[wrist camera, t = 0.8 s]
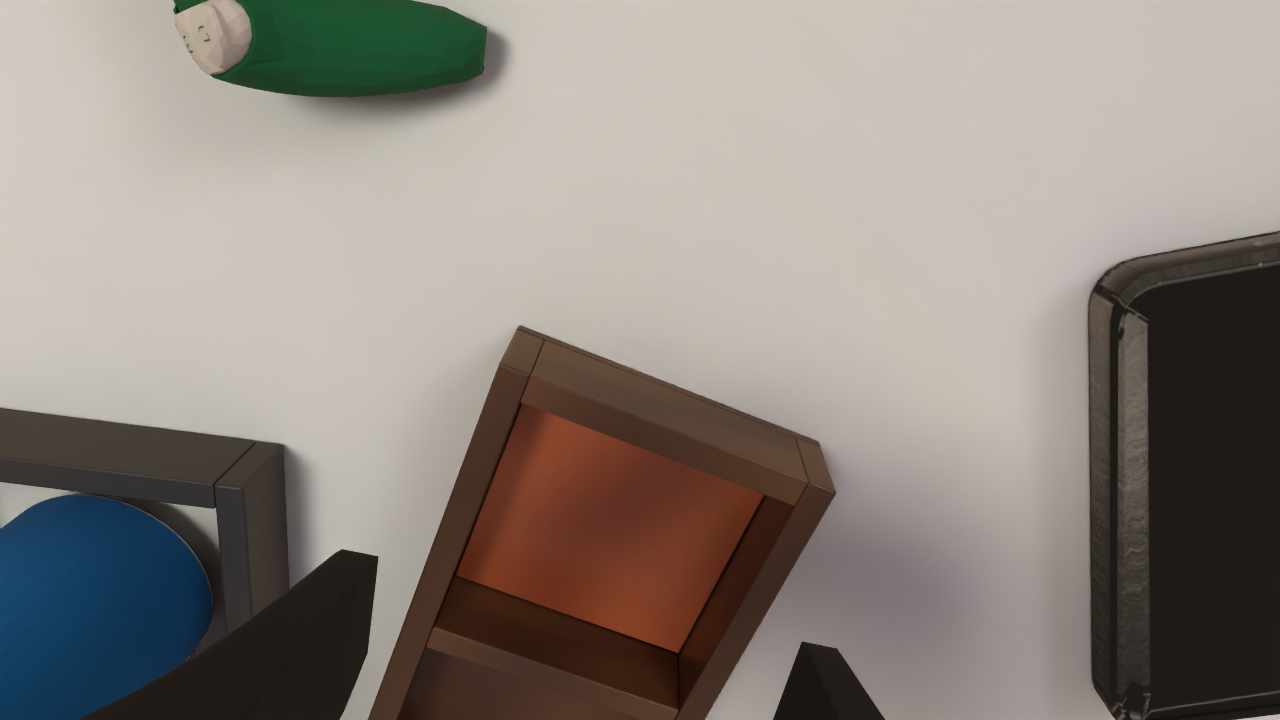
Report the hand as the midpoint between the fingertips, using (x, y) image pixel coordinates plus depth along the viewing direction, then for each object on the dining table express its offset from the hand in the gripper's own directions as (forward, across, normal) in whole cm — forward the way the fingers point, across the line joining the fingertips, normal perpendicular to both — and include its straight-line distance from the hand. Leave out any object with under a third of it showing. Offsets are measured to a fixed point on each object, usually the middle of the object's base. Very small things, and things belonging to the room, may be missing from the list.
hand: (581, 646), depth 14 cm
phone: (+10, -18, -1) cm, 20 cm away
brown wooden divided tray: (+10, 0, +8) cm, 13 cm away
